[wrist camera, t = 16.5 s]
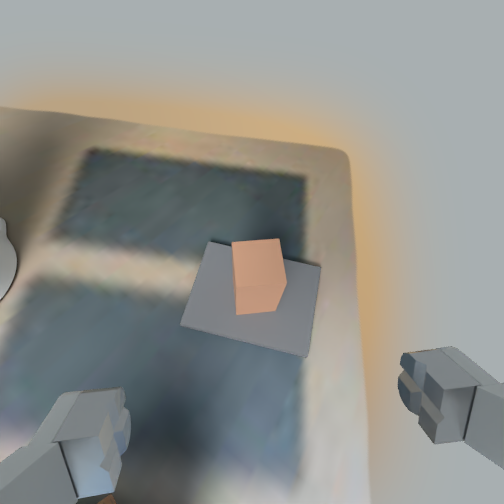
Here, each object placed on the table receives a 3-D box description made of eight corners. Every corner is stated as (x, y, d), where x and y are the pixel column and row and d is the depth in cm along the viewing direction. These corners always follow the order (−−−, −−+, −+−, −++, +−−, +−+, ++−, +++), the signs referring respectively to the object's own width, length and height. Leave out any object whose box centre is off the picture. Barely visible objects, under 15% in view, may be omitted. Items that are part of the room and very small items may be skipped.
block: (236, 315, 39) (236, 287, 30) (232, 278, 41) (231, 242, 32) (275, 311, 39) (287, 282, 30) (269, 274, 41) (279, 238, 32)
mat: (181, 326, 39) (179, 324, 38) (209, 244, 44) (208, 241, 43) (306, 357, 38) (307, 356, 37) (319, 270, 43) (320, 267, 42)
